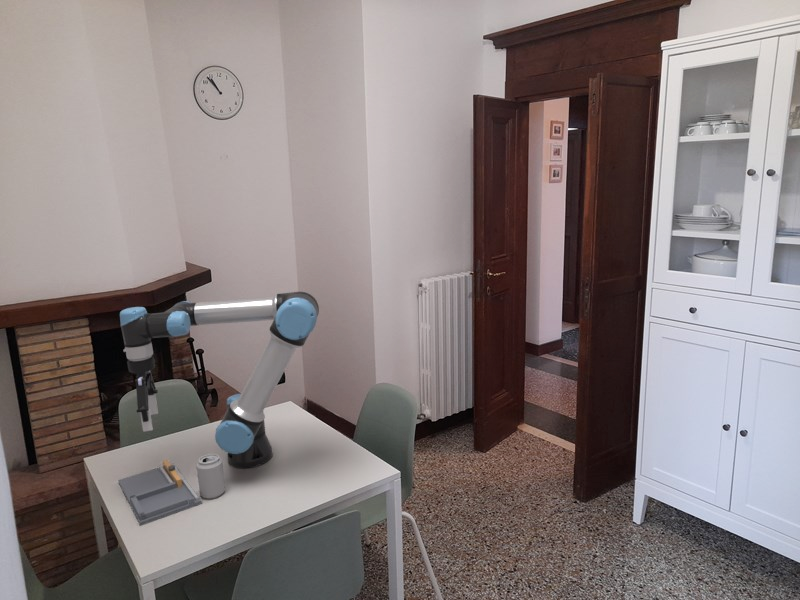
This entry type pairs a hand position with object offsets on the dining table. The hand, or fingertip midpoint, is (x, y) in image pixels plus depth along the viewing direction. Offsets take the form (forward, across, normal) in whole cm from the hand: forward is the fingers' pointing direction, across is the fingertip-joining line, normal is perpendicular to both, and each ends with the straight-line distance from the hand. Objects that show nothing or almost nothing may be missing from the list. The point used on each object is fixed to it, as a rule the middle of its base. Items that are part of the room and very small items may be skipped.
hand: (151, 422), depth 179 cm
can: (+22, +13, +16) cm, 30 cm away
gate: (+20, -1, +3) cm, 20 cm away
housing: (+21, +6, 0) cm, 22 cm away
